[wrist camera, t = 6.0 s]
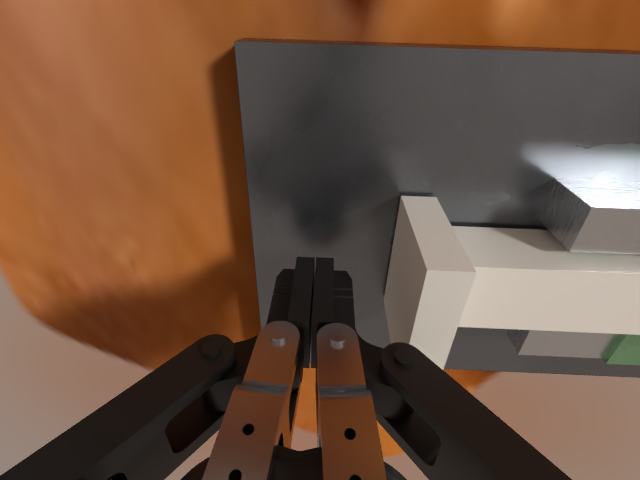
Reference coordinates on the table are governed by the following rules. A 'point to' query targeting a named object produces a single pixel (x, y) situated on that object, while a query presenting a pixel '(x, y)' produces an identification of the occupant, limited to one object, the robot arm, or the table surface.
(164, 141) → the table surface
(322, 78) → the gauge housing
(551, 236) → the plunger
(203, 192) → the table surface
